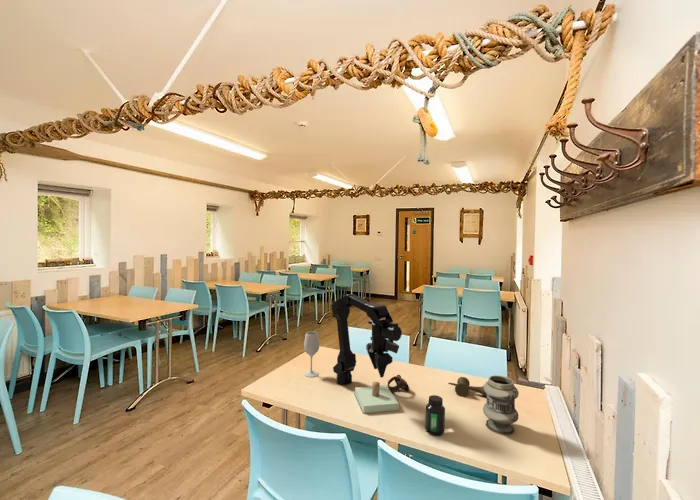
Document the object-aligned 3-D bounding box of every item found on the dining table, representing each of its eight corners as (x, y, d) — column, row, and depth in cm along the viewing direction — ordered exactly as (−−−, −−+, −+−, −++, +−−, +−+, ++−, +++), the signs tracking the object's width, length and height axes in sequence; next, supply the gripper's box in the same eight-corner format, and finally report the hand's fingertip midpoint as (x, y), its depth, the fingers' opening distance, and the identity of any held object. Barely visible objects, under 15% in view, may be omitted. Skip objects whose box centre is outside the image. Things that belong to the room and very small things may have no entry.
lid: (363, 413, 129) (364, 393, 128) (354, 393, 145) (355, 376, 144) (398, 410, 131) (398, 390, 131) (385, 391, 147) (386, 374, 147)
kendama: (494, 404, 141) (446, 393, 149) (494, 395, 149) (449, 385, 157) (495, 390, 140) (447, 380, 148) (495, 382, 149) (449, 373, 157)
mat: (362, 416, 128) (362, 413, 128) (353, 395, 145) (353, 393, 145) (399, 413, 131) (399, 410, 131) (386, 393, 148) (386, 390, 148)
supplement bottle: (436, 438, 115) (437, 404, 114) (421, 429, 120) (422, 396, 120) (448, 432, 119) (449, 399, 118) (433, 423, 124) (434, 392, 124)
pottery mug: (412, 399, 144) (404, 384, 142) (392, 406, 146) (384, 392, 144) (409, 380, 155) (402, 367, 153) (391, 387, 157) (384, 374, 155)
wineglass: (321, 373, 168) (322, 332, 167) (312, 378, 161) (312, 336, 161) (310, 370, 172) (310, 330, 171) (300, 375, 165) (301, 333, 165)
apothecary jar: (482, 415, 131) (484, 370, 130) (516, 422, 126) (518, 376, 125) (482, 432, 119) (483, 383, 119) (519, 440, 115) (521, 389, 114)
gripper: (405, 340, 130) (405, 380, 130) (390, 329, 148) (390, 363, 149) (377, 342, 128) (377, 382, 128) (365, 330, 146) (366, 365, 146)
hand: (378, 373), depth 138 cm, fingers open, 9 cm apart
